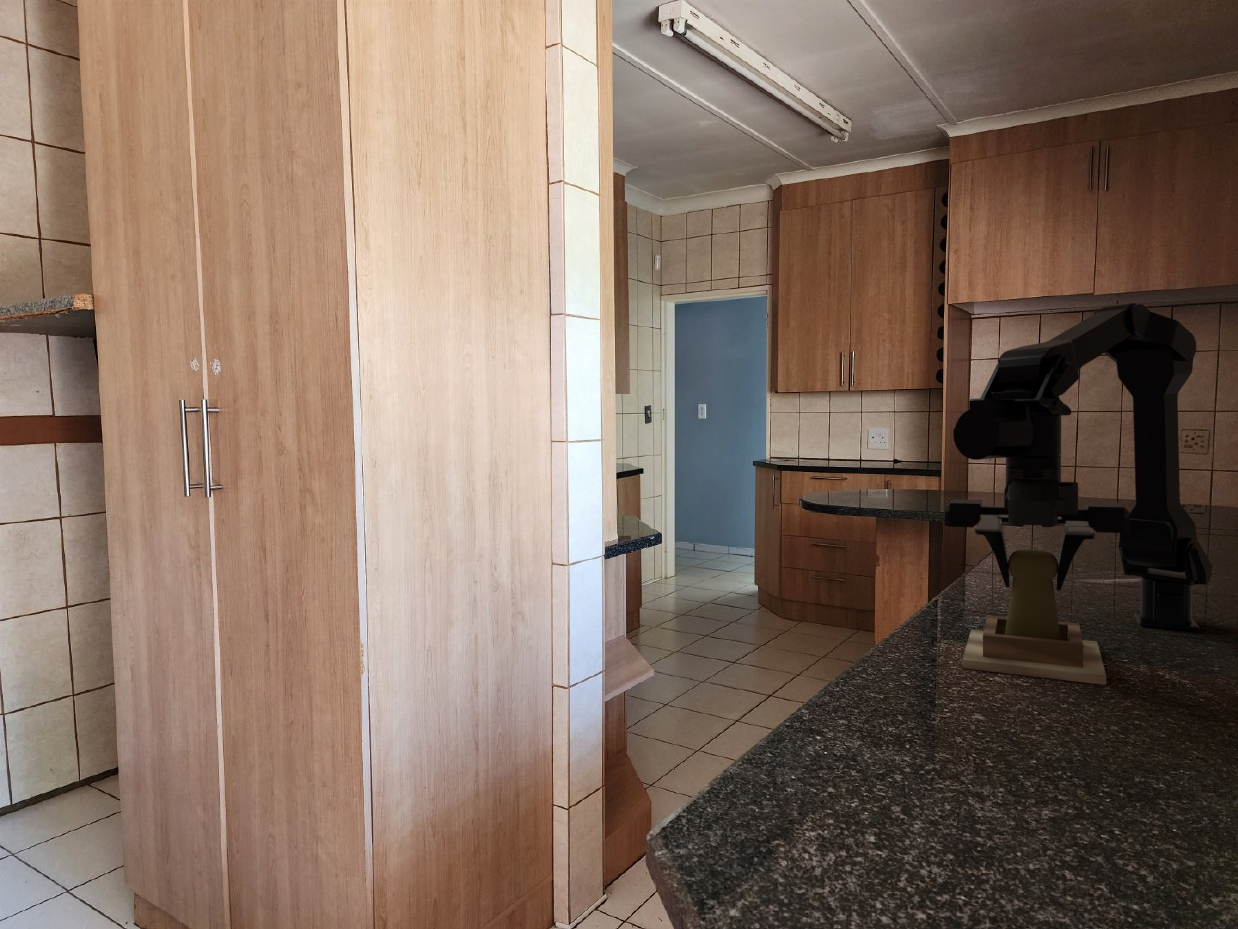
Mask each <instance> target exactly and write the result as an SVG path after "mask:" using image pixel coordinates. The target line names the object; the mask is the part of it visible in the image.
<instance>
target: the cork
mask: <svg viewBox="0 0 1238 929" xmlns="http://www.w3.org/2000/svg"><path fill="white" fill-rule="evenodd" d="M1008 567H1009V571H1010V575H1011V576H1012V584H1011V590H1010V597H1009V604H1008V609H1007V610H1008V611H1007V616H1006V617H1007V623H1006V629H1005V635H1011V636H1021V637H1031V638H1042V639H1052V640H1061V637H1060V629H1059V622H1060V621H1059V618H1058V610H1057V601H1056V595H1055V594H1056V593H1055V588H1054V582H1053V580H1054V578H1056V575H1057V571H1058V559H1057V557H1056V556H1055V555H1054V553H1051V552H1049V551H1046V550H1044V549H1043V550H1042V549H1034V548H1033V549H1031V548H1026V549H1018V550H1015V551H1013V552H1011V554H1010V555H1009V557H1008Z"/></svg>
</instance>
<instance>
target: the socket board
mask: <svg viewBox="0 0 1238 929" xmlns="http://www.w3.org/2000/svg"><path fill="white" fill-rule="evenodd" d="M1058 622H1059V629H1060V637H1061V640H1052V639H1042V638H1031V637H1021V636H1011V635H1005V629H1006V623H1007V616H997V615H987V616H986V620H985V624H984V629H983V630H982V629H971V630H970V633H969V636H968V640H967V642H966V647H965V650H964V653H963V657H962V669H966V670H977V671H982V672H983V671H985V672H992V673H993V672H994V673H1003V674H1008V675H1009V674H1010V675H1019V676H1028V677H1035V678H1044V679H1052V680H1060V681H1069V682H1079V683H1088V684H1094V685H1095V684H1096V685H1105V686H1106V685H1107V674H1106V670H1105V667H1104V666H1105V665H1104V663H1103V659H1102V655H1101V651H1100V649H1099V648H1100V647H1099V645H1098V641H1097V640H1087V639H1085V640H1084V639H1083V637H1082V636H1083V635H1082V632H1081V627H1080V623H1076V622H1065V621H1058Z"/></svg>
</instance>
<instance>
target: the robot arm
mask: <svg viewBox="0 0 1238 929" xmlns="http://www.w3.org/2000/svg"><path fill="white" fill-rule="evenodd" d="M1196 351H1197V341H1196V338H1195V336H1194V333H1192V332H1191V331H1190V330H1189V329H1188V328H1186V327H1185V326H1184V325H1183V324H1182V323H1181V322H1180V321H1178V320H1176V319H1174V318H1171V317H1168V316H1165V315H1162V314H1158V313H1156V312H1153V311H1151V310H1150V309H1148V308H1147V307H1146V306H1145V304H1142V303H1136V302H1129V303H1121V304H1115V305H1107V306H1106V305H1105V306H1102V307H1101V308H1100V309H1097V310H1096V311H1095V312H1094V314H1092V315H1091V316H1089V317H1087V318H1085V319H1084V320H1083V321H1080V322H1078V323H1077V324H1075V325H1074V326H1072V327H1070V328H1068V329H1067V330H1064V331H1063V332H1061V333H1060V334H1058V335H1056V336H1054V337H1052V338H1051V339H1049V340H1047V341H1042V342H1038V343H1033V344H1028V345H1024V346H1018V347H1015V348H1012V349H1008V350H1006V351H1004V352H1003V353H1002V354H1001V355H1000V356H999V357H998V359H997V364H996V365H995V368H993V369H994V370H993V371H992V373H991V375H990V378H989V380H988V382H987V383H986V386H985V387H984V390H983V392H982V394H981V396H980V398H970V399H969V402H968V410H965V412H963V413H962V414H961V415H960V416H959V418H958V419H957V421H956V423H955V427H954V428H953V434H952V436H953V441H954V444H955V447H956V449H957V450H958V452H959V453H960V454H961V455H962V456H964V457H965V458H967V459H969V460H974V461H977V460H980V461H981V460H991V459H992V460H993V459H995V460H996V459H1005V487H1004V491H1003V493H1004V495H1003V497H1004V502H1003V504H1004V505H1003V506H993V505H992V506H990V505H989V506H988V505H986V506H985V505H984V501H983V500H984V499H960V498H959V499H956V498H955V499H954V498H953V499H952V500H951V501H950V502H949V503H948V504H947V505H946V506H945V507H944V526H945V527H949V528H974V527H975V529H974V534H975V535H978V536H984V538H985V540H986V541H987V543H988V544H989V546H990V547H991V551H992V552H993V555H994V556H995V560H996V562H997V566H998V568H999V571H1000V573H1001V578H1002V580H1003V584H1004V586H1005V587H1006V588H1010V586H1011V584H1010V581H1011V580H1010V579H1011V573H1010V571H1009V567H1008V560H1009V557H1008V549H1007V548H1008V547H1007V543H1006V542H1007V541H1006V535H1005V527H1004V525H1003V524H1002V523H1008V524H1010V525H1011V526H1014V527H1025V526H1041V527H1042V528H1054V527H1056V526H1057V525H1064V527H1063V528H1062V534H1061V542H1060V548H1059V556H1058V560H1057V562H1058V571H1057V575H1056V576H1055V578H1056V579H1055V580H1056V587H1055V588H1056V591H1060V592H1061V591H1062V589H1063V585H1064V583H1065V580H1066V577H1067V574H1068V572H1069V569H1070V567H1071V564H1072V561H1073V559H1074V557H1075V555H1076V554H1077V551H1078V550H1079V548H1080V547H1081V545H1082V544H1083V542H1084V541H1086V540H1095V539H1096V538H1095V537H1096V534H1095V533H1094V531H1095V532H1096V533H1103V534H1105V533H1107V534H1110V533H1111V534H1113V533H1114V534H1119V542H1118V548H1119V554H1120V558H1121V559H1120V560H1121V562H1122V567H1123V573H1124V575H1125V576H1134V577H1139V578H1140V611H1135V612H1134V616H1135V619H1136V620H1137V622H1138V625H1139V626H1142V627H1151V628H1153V627H1155V628H1165V629H1167V628H1168V629H1174V630H1175V629H1176V630H1189V631H1199V630H1200V626H1199V625H1198V624H1197V622H1196V621H1195V620H1194V618H1193V617H1192V614H1193V586H1196V585H1200V586H1201V585H1204V586H1205V585H1209V582H1210V581H1211V577H1212V575H1213V573H1212V572H1213V566H1214V565H1213V564H1212V562H1211V561H1210V559H1209V557H1208V555H1207V553H1206V552H1205V550H1204V549H1203V547H1202V545H1201V544H1200V541H1198V536H1197V535H1198V534H1197V526H1196V523H1195V521H1194V520H1193V518H1192V517H1191V516H1190V514H1189V513H1188V512H1187V510H1186V509H1185V508H1184V506H1183V505H1182V504H1181V495H1180V494H1181V493H1180V492H1181V490H1180V487H1181V486H1180V451H1179V450H1180V447H1179V442H1180V441H1179V438H1180V437H1179V407H1178V406H1179V402H1178V401H1179V400H1178V399H1179V397H1178V395H1179V392H1180V391H1181V389H1182V388H1183V387H1184V385H1185V384H1186V382H1187V381H1188V379H1189V378H1190V376H1191V375H1192V373H1193V370H1194V368H1193V367H1194V366H1193V365H1194V358H1195V355H1196V353H1197V352H1196ZM1102 355H1106V356H1107V357H1108V358H1110V359H1111V360H1112V361H1113V362H1114V363H1115V364H1116V370H1117V371H1116V372H1117V378H1118V380H1119V381H1120V382H1121V384H1122V385H1123V386H1124V388H1125V389H1126V390H1127V392H1128V393H1129V394H1130V395H1131V397H1132V418H1133V423H1132V424H1133V450H1134V451H1133V455H1134V461H1133V462H1134V491H1135V492H1134V494H1135V496H1134V497H1135V504H1134V505H1133V507H1132V509H1131V510H1130V511H1129V509H1127V508H1126V507H1125V506H1124V505H1123V504H1121V502H1091V501H1090V502H1089V501H1087V502H1085V508H1079V484H1078V482H1077V481H1062V417H1064V416H1071V415H1072V409H1071V408H1070V406H1068V405H1067V404H1066V403H1065V402H1063V401H1062V400H1061V397H1060V396H1062V395H1064V394H1065V393H1066V392H1067V391H1069V389H1070V388H1071V387H1073V385H1074V384H1075V383H1077V381H1078V380H1079V379H1080V370H1081V369H1082V367H1084V366H1085V365H1087V364H1089V363H1090V362H1092V361H1093V360H1095V359H1097V358H1099V357H1100V356H1102Z"/></svg>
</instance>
